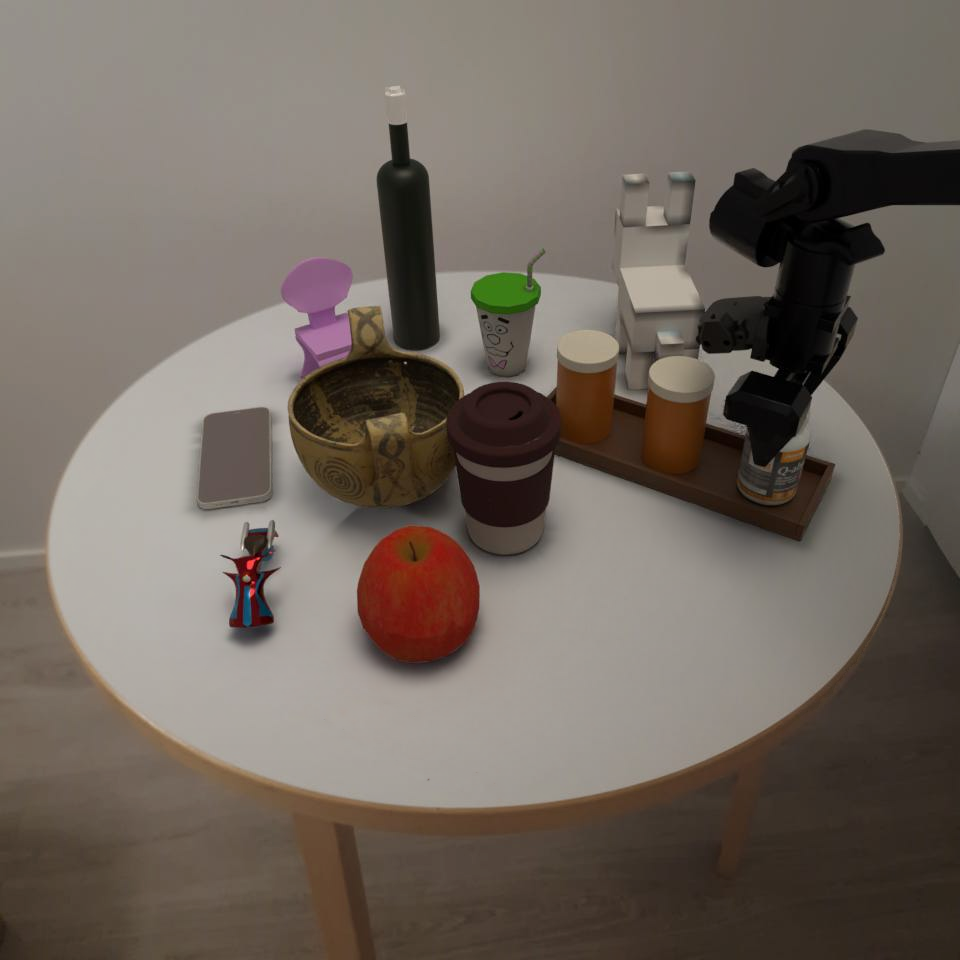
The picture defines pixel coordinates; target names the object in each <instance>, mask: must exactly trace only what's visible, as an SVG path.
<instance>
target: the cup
mask: <svg viewBox="0 0 960 960" xmlns="http://www.w3.org/2000/svg"><path fill="white" fill-rule="evenodd" d="M545 254H546V250H545V249H544V248H541V249H540V250H539V251H538V252H537V253H536V254H535V255H534V256H533V257H532V258H531V259H530V260H529V261H528V263H527V268H526V274H523V273H519V272H518V273H517V272H505V271H502V272H497V273H492V274H487V275H485V276H483V277H481V278H479V279H477V280H476V281H475V282H473V285H472V287H471V290H470V299H471V301H472V303H473V304H474V306H475V309H476V315H477V319H478V320H477V321H478V324H479V330H480V335H481V341H482V345H483V346H482V347H483V351H484V356H485V363H486V367H487V369H488V371H489V372H490V374H492V375H493V376H494V375H495V376H496V377H499V378H500V377H501V378H512V377H513V378H514V377H517V376H519V375H520V374H522V373H524V372H525V371H526V367H527V362H528V357H529V356H528V355H529V350H530V344H531V336H532V332H533V325H534V318H535V312H536V306H537V305H538V304H539V301H540V299H541V296H542V287H541V285H540V284H539V283H538V281H537V280H536V279H535V278H533V267H534V264H535V263H537V261H539V260H540V259H541V257H543V256H544V255H545Z"/></svg>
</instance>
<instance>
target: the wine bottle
mask: <svg viewBox="0 0 960 960" xmlns="http://www.w3.org/2000/svg"><path fill="white" fill-rule="evenodd" d="M406 94H407V93H406V90H405V88H402V87H401V86H400V84H398V85H392V86H389V87H388V86H385V92H384V101H385V111H386V120H387V121H386V122H387V124H388V132H389V133H388V134H389V142H390V154H391V159H390V160H388V161H386V162H385V163H383V164H382V165H381V166H380V167H379V168H378V171H377V173H376V178H375V179H376V190H377V199H378V208H379V217H380V226H381V236H382V243H383V253H384V255H383V256H384V263H385V271H386V273H385V274H386V281H387V290H388V291H387V292H388V301H389V308H390V318H391V328H392V335H393V336H392V337H393V341H394V343H395V345H396V346H398V347H399V348H401V349H404V350H407V351H408V350H409V351H421V350H422V351H423V350H426V349H429V348H432V347H433V346H435V345H436V344H437V343H438V342H439V340H440V338H441V331H440V318H439V317H440V316H439V303H438V302H439V301H438V288H437V274H436V260H435V245H434V231H433V230H434V229H433V217H432V215H433V214H432V202H431V187H430V175H429V172H428V169H427V168H426V167H425V165H424V164H423V163H422V162H420V161H419V160H416V159H415V158H411V152H410V140H409V128H408V121H409V119H408V106H407V105H408V104H407V95H406Z"/></svg>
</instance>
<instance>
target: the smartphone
mask: <svg viewBox="0 0 960 960" xmlns="http://www.w3.org/2000/svg"><path fill="white" fill-rule="evenodd" d="M201 427H202V428H201V439H200V451H199V465H198V477H197V489H196V490H197V491H196V500H197V503H198V506H199V507H200V508H201V509H203V510H213V509H221V508H227V507H234V506H240V505H249V504H255V503H261V502H265V501H267V500H269V499H270V498H272V495H273V437H272V436H273V434H272V432H273V431H272V429H273V427H272V413H271V410H270V409H269V408H268V407H266V406H256V407H250V408H249V407H247V408H242V409H234V410H226V411H219V412H217V411H216V412H212V413H209V414H206V415H205V416H204V417H203V419H202V426H201Z"/></svg>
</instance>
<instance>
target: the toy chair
mask: <svg viewBox="0 0 960 960" xmlns="http://www.w3.org/2000/svg"><path fill="white" fill-rule="evenodd" d="M352 282H353V270H352V268H351V267H350V266H349V265H348V264H347V263H346V262H343V261H341V260H338V259H335V258H329V257H321V256H315V257H310V258H307V259H304V260H302V261H300V262H299V263H297V264H296V265H295V266H294V267H293V268H292V269H291V270H290V271H289V273H288V274H287V275H286V276H285V278H284V279H283V282H282V284H281V286H280V295H281V298H282V299H283V302H285V304H287V305H288V306H290V307H292V308H293V309H295V310H296V311H297V312H298V313H303V314H307V317H308V322H309V324H305V325H302V326H299V327H295V328H294V334H295V336H294V337H295V340H296V342H297V343H298V345H299V346H300V347H301V349H302V351H303V355H304V358H303V359H304V360H303V364H302V367H301V371H300V374H299V377H300V378H304V377H305V376H307V375H308V374H310V373H311V372H313V371H314V370H316V369H317V368H319V367H321V366H323V365H325V364H328V363H330V362H333V361H336V360H338V359H341V358H344V357H346V356H347V355H348V353H349V352H350V350H351V344H352V342H351V331H350V323H349V316H348V312H343V313H341V314H336V306H338V305H339V304H340V303H341V302H343V301H344V300H346V299H347V298H348V295H349V292H350V289H351V286H352V284H353V283H352Z"/></svg>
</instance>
